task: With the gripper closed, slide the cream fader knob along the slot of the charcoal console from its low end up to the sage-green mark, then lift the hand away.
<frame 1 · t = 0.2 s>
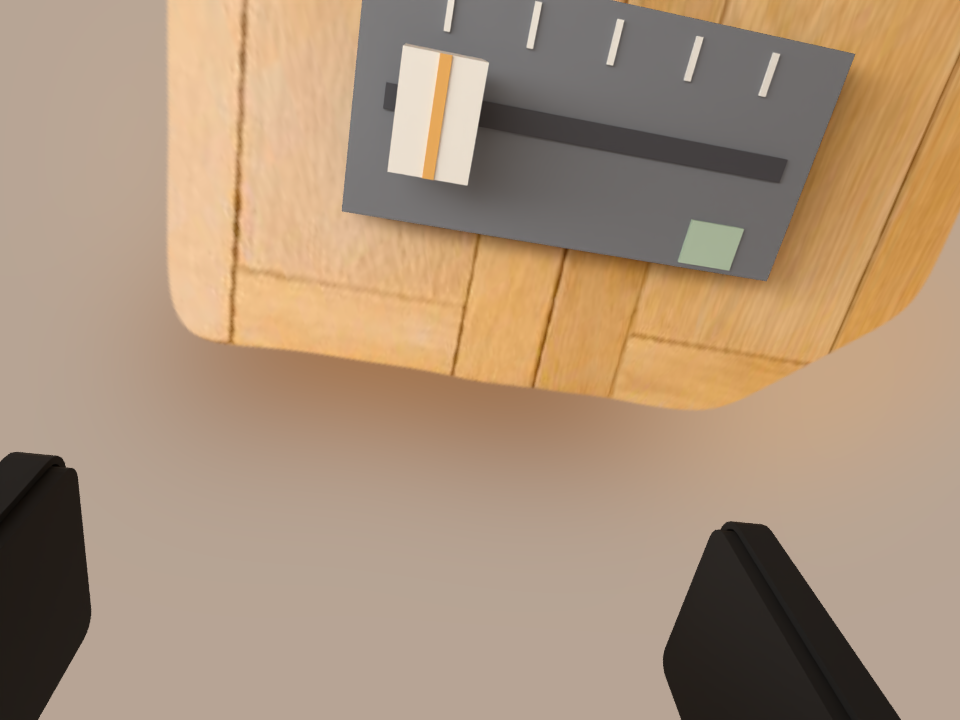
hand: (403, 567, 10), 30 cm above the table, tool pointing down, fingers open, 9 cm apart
console: (580, 126, 37), on the table
fader: (436, 112, 30), point 6 cm above the table, slide at 0.0 cm
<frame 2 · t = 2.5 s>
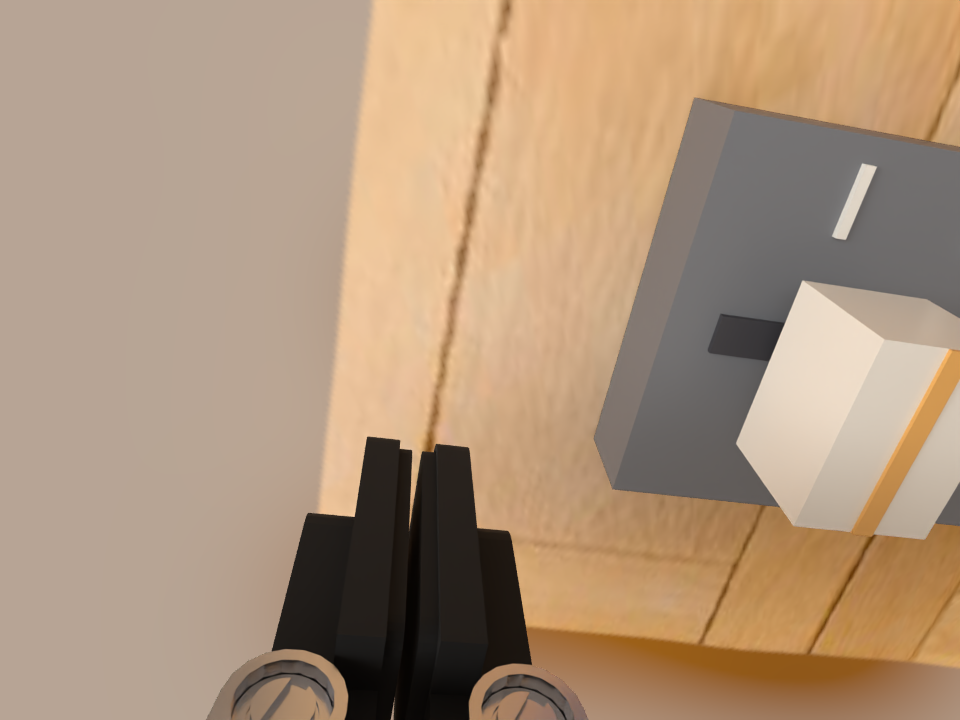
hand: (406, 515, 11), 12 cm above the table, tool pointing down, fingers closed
fader: (847, 394, 17), point 6 cm above the table, slide at 0.0 cm
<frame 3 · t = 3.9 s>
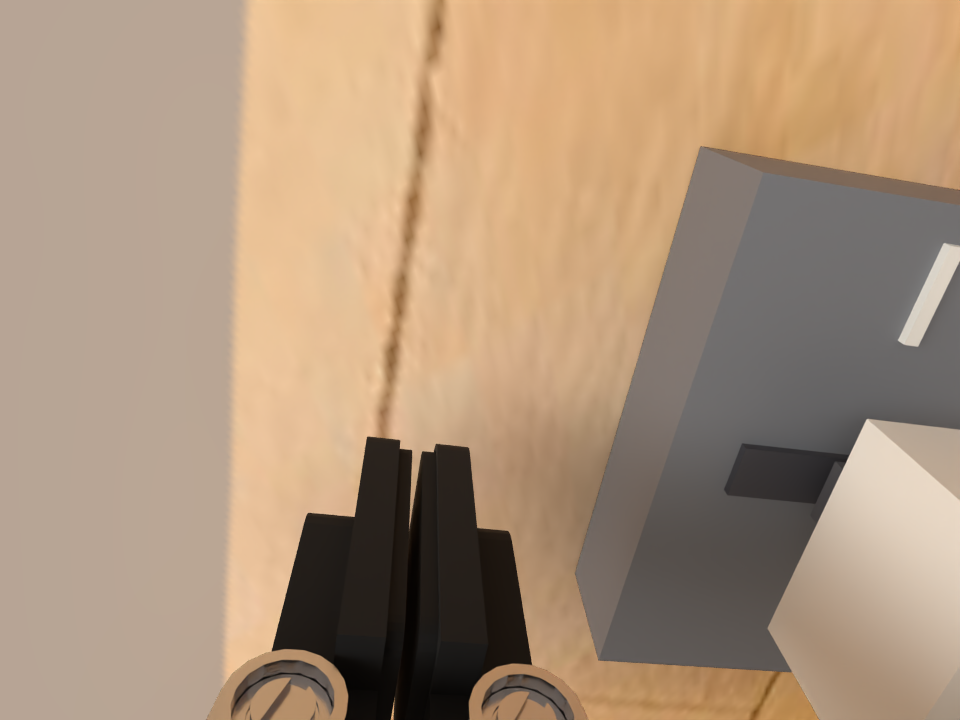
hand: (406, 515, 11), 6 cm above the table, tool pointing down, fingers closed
fader: (933, 579, 12), point 6 cm above the table, slide at 0.0 cm
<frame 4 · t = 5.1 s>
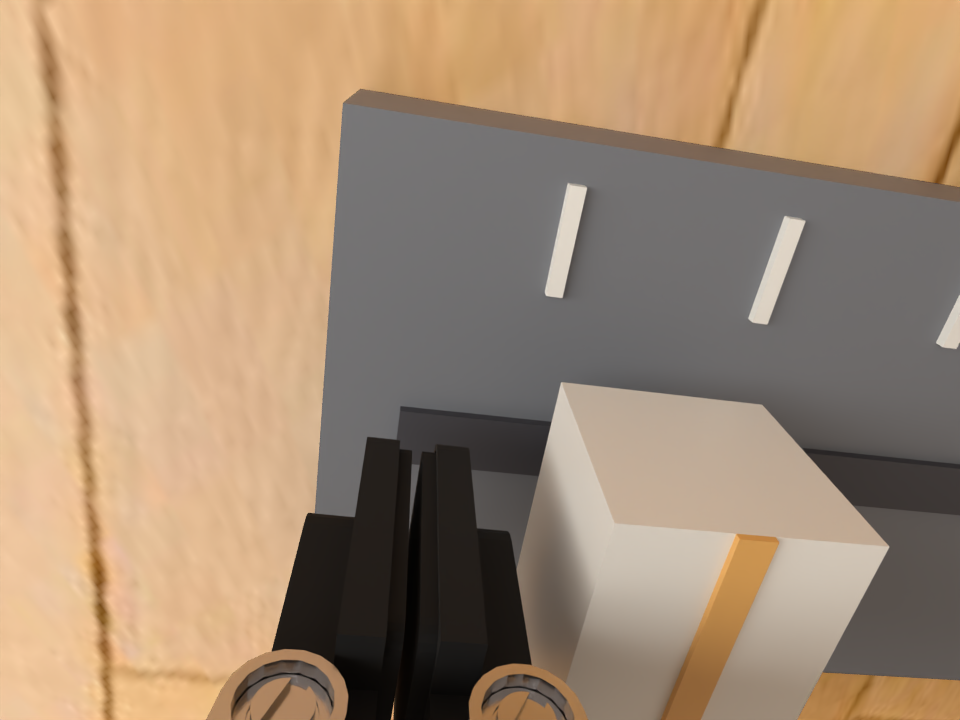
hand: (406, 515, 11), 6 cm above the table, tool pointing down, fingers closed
console: (806, 410, 17), on the table
fader: (642, 554, 11), point 6 cm above the table, slide at 1.7 cm, touching gripper
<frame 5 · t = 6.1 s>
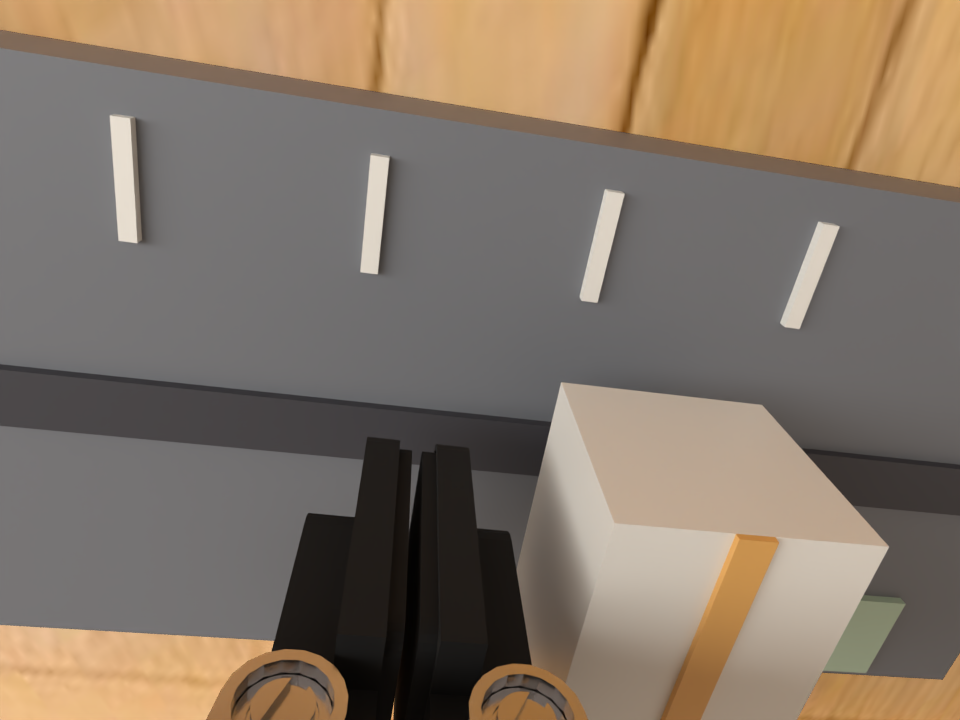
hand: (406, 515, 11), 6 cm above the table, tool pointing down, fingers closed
console: (531, 379, 17), on the table
fader: (642, 554, 11), point 6 cm above the table, slide at 9.1 cm, touching gripper
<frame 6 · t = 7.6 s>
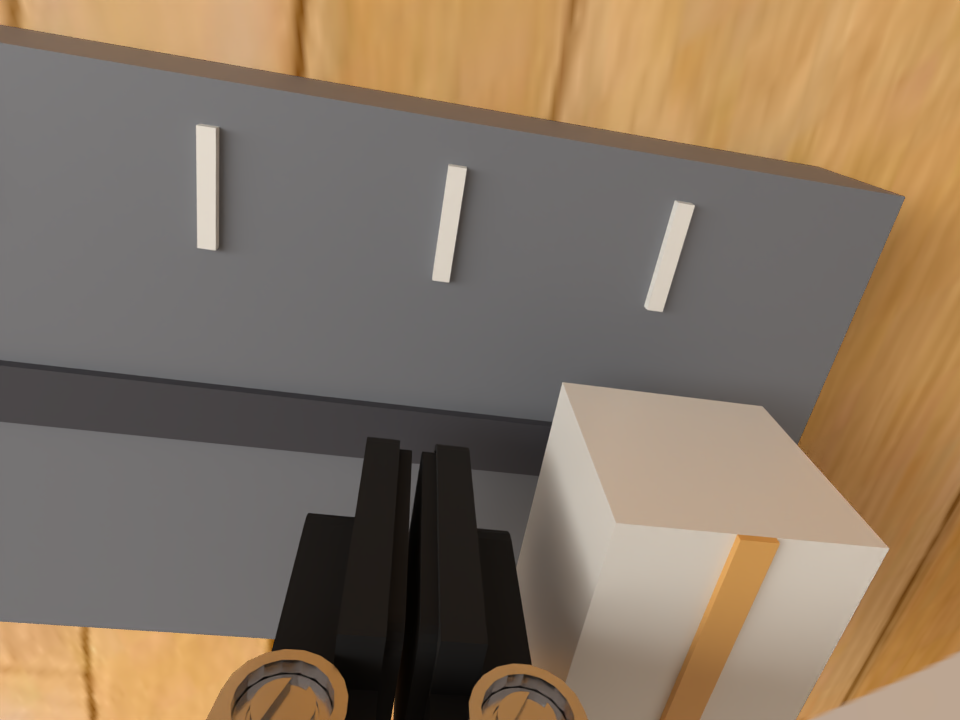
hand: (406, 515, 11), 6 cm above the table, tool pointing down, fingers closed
console: (248, 345, 16), on the table
fader: (642, 554, 11), point 6 cm above the table, slide at 15.8 cm, touching gripper
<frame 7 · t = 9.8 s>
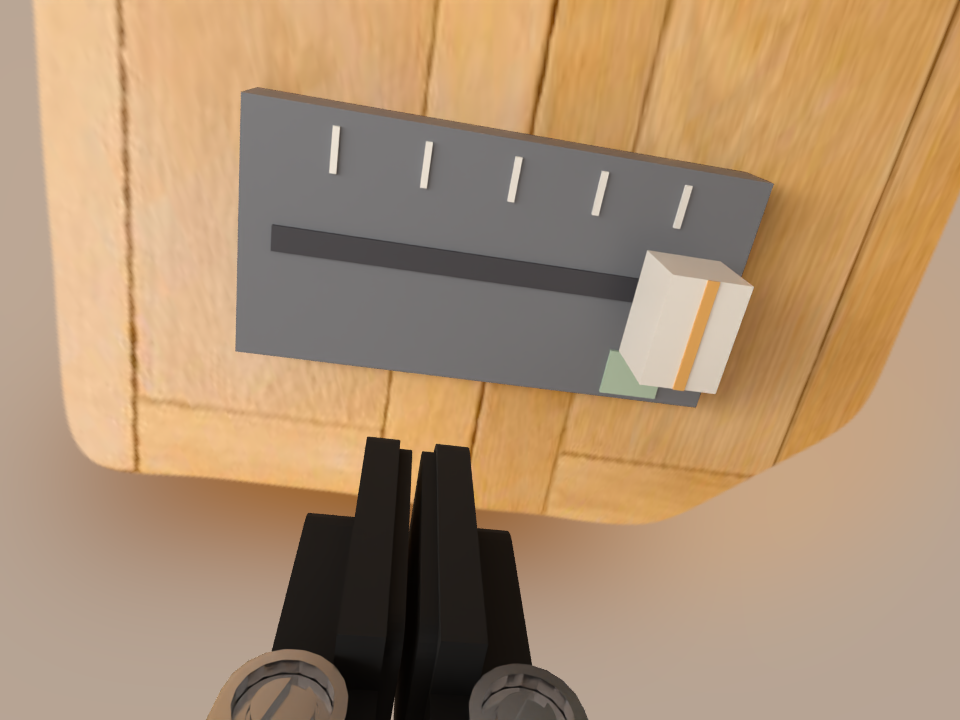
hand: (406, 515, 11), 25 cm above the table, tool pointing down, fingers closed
console: (492, 251, 35), on the table
fader: (675, 315, 30), point 6 cm above the table, slide at 16.0 cm
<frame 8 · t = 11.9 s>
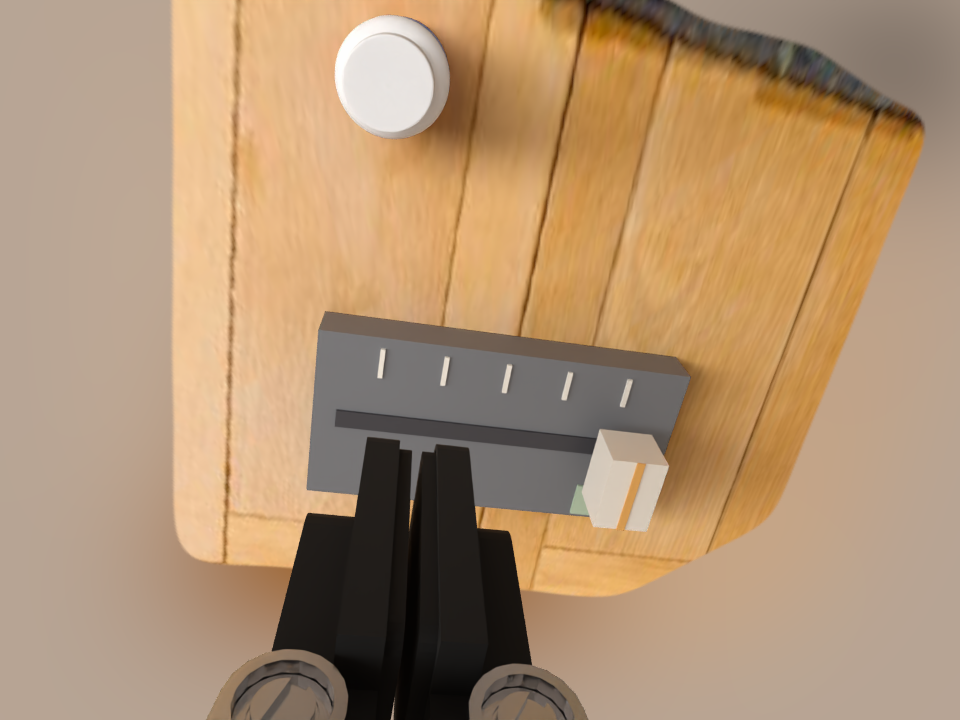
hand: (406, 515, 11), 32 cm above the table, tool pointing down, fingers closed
console: (491, 411, 48), on the table
pill bottle: (399, 70, 38), on the table
fader: (620, 473, 43), point 6 cm above the table, slide at 16.0 cm
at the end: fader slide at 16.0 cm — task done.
